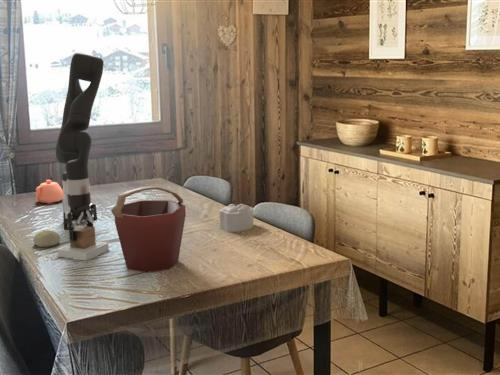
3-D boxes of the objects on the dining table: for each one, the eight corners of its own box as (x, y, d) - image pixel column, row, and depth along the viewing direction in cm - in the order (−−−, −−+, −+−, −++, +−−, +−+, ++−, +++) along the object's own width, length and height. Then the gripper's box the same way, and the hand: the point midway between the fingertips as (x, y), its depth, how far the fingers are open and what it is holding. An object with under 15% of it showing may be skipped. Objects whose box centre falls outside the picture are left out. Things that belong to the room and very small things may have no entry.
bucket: (119, 280, 183) (114, 199, 177) (105, 258, 203) (100, 184, 197) (197, 267, 192) (194, 190, 187) (176, 248, 212) (173, 177, 207)
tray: (57, 256, 205) (57, 248, 205) (81, 245, 216) (80, 238, 216) (86, 260, 201) (85, 252, 200) (108, 249, 211) (108, 242, 211)
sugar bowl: (69, 200, 285) (68, 179, 283) (45, 206, 273) (43, 184, 271) (52, 197, 291) (50, 176, 289) (27, 203, 280) (25, 182, 277)
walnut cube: (70, 246, 206) (68, 229, 205) (81, 241, 212) (80, 225, 210) (84, 248, 204) (83, 231, 203) (95, 243, 209) (94, 227, 208)
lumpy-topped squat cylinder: (216, 226, 237) (216, 205, 236) (244, 221, 244) (244, 200, 242) (230, 233, 229) (230, 210, 227) (259, 227, 236) (259, 205, 234)
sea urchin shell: (35, 245, 212) (31, 225, 215) (35, 256, 218) (31, 237, 221) (62, 241, 216) (58, 222, 219) (61, 252, 222) (57, 233, 225)
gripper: (83, 186, 212) (86, 231, 215) (55, 195, 199) (59, 242, 202) (101, 187, 208) (104, 233, 212) (73, 196, 196) (77, 245, 199)
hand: (82, 237), depth 207 cm, fingers open, 8 cm apart
